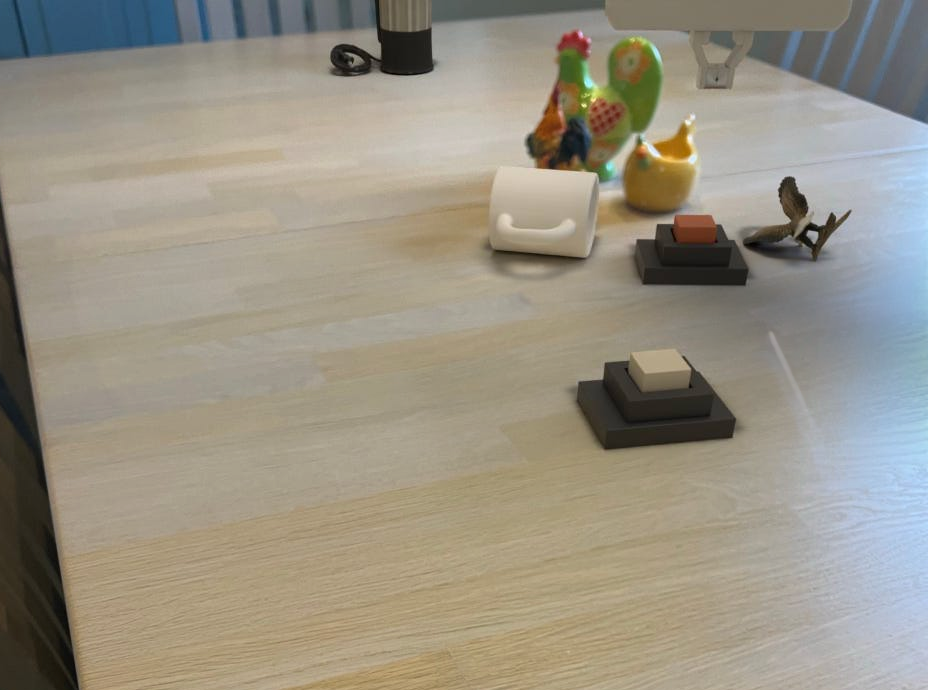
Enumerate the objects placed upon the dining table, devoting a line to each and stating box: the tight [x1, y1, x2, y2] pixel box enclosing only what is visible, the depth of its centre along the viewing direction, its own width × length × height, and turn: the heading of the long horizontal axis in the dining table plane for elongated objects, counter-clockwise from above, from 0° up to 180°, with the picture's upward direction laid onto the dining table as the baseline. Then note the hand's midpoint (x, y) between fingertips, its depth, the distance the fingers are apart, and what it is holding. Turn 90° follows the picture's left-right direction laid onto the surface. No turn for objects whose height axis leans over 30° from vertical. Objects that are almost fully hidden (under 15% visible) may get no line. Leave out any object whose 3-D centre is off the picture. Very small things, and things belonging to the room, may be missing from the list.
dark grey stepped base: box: [634, 223, 750, 287], centre depth 101 cm, size 10×8×4 cm
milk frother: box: [329, 0, 435, 75], centre depth 166 cm, size 14×16×15 cm
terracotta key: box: [673, 214, 717, 243], centre depth 99 cm, size 4×4×2 cm
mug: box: [487, 165, 600, 259], centre depth 102 cm, size 12×10×8 cm
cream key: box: [628, 348, 691, 392], centre depth 76 cm, size 4×4×2 cm
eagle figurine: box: [742, 175, 853, 262], centre depth 104 cm, size 8×7×9 cm
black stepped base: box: [576, 355, 737, 451], centre depth 78 cm, size 10×8×4 cm
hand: (713, 88), depth 89 cm, fingers closed
